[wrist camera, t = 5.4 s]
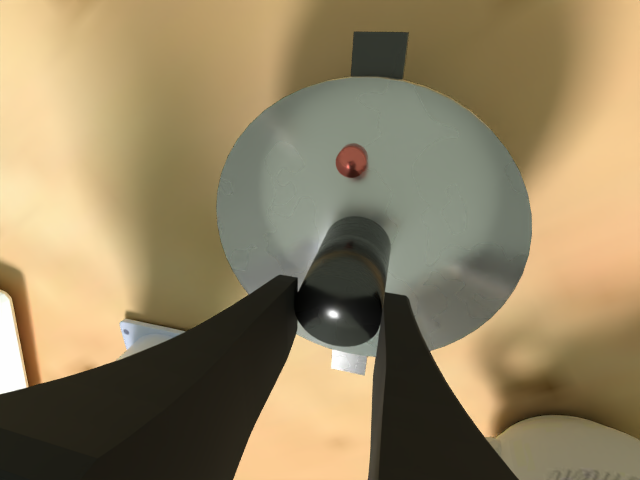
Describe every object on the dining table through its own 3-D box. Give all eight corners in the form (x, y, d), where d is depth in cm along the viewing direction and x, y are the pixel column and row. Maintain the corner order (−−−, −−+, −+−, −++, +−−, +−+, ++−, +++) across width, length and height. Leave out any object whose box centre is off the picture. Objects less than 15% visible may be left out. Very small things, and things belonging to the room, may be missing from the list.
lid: (497, 360, 15) (524, 471, 11) (252, 331, 18) (206, 409, 14) (565, 58, 10) (667, 70, 6) (193, 88, 13) (90, 109, 9)
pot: (449, 344, 20) (456, 399, 17) (274, 311, 23) (249, 354, 19) (529, 43, 14) (569, 33, 10) (266, 38, 16) (224, 28, 12)
